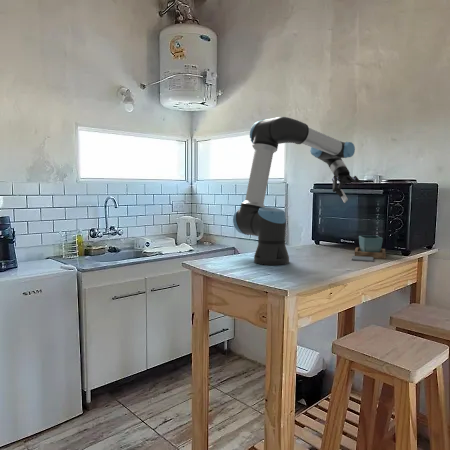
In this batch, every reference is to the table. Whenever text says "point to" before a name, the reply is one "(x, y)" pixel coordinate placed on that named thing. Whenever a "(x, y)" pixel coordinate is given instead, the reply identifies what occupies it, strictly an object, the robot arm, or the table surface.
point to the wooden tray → (371, 253)
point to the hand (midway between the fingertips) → (357, 200)
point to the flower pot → (370, 243)
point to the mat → (362, 258)
